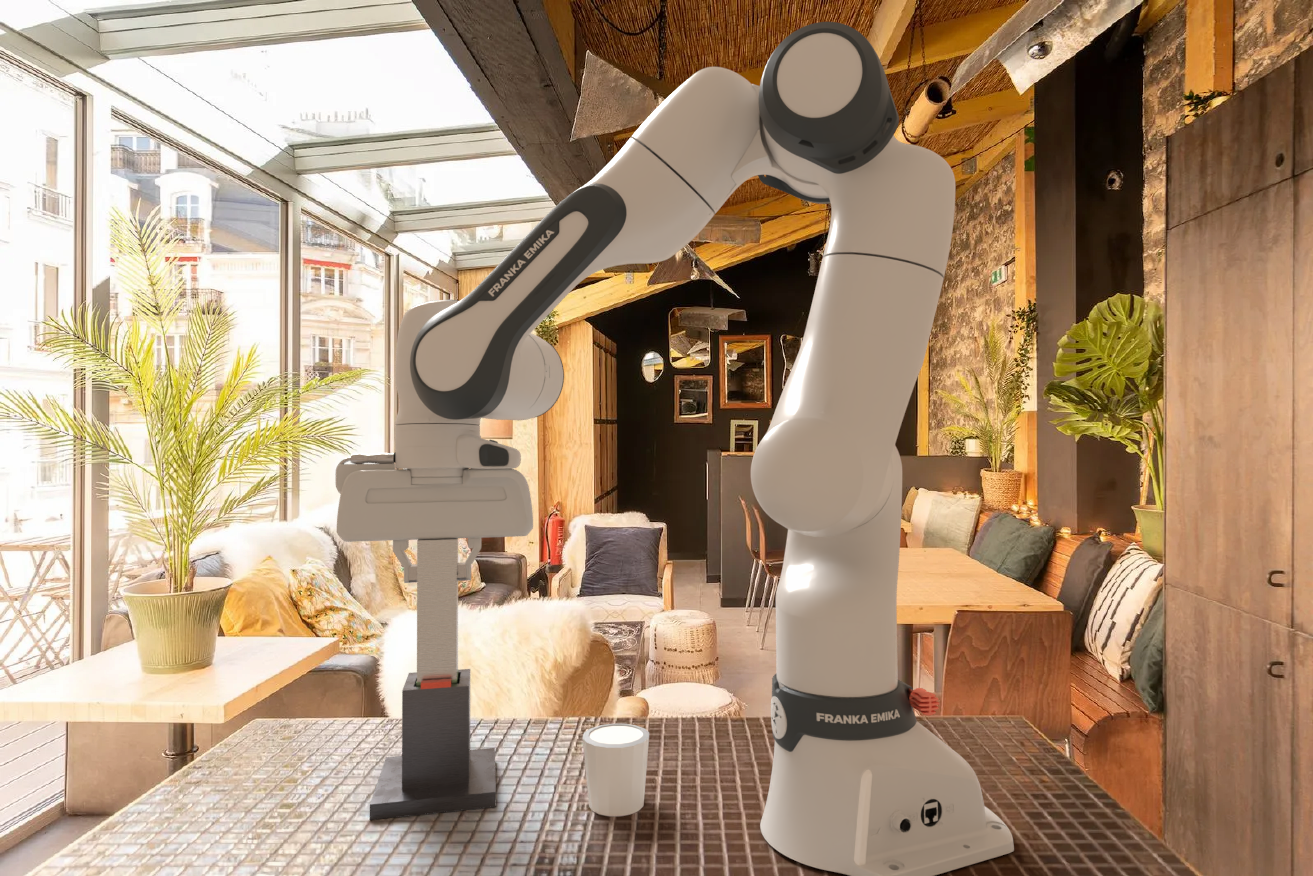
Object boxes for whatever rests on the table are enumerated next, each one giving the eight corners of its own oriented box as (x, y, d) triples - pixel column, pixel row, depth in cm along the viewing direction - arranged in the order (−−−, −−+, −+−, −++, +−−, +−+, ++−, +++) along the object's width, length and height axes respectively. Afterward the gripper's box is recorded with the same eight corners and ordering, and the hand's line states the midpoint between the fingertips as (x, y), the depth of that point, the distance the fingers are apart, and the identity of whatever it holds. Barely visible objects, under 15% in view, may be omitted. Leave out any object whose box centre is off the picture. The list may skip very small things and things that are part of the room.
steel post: (458, 699, 83) (458, 535, 84) (456, 711, 79) (457, 539, 80) (419, 702, 82) (420, 536, 83) (416, 714, 78) (416, 540, 79)
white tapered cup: (642, 822, 72) (641, 749, 73) (573, 816, 74) (573, 744, 74) (656, 791, 79) (655, 724, 79) (593, 786, 80) (593, 720, 81)
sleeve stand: (494, 760, 87) (494, 655, 88) (495, 807, 76) (495, 685, 76) (386, 770, 85) (386, 662, 85) (369, 820, 73) (370, 694, 74)
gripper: (329, 452, 76) (328, 590, 76) (533, 451, 80) (534, 581, 80) (341, 453, 82) (340, 581, 82) (530, 452, 87) (531, 573, 86)
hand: (438, 581), depth 81 cm, fingers closed on steel post, 4 cm apart
